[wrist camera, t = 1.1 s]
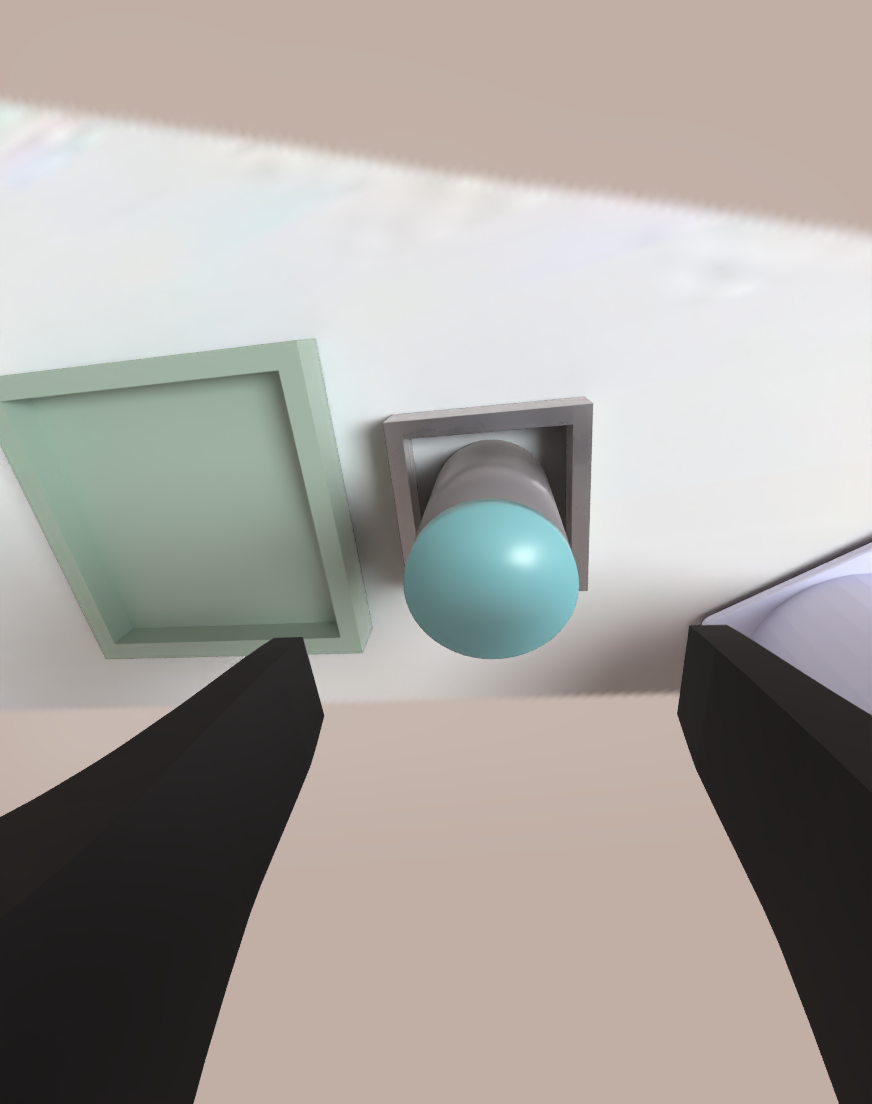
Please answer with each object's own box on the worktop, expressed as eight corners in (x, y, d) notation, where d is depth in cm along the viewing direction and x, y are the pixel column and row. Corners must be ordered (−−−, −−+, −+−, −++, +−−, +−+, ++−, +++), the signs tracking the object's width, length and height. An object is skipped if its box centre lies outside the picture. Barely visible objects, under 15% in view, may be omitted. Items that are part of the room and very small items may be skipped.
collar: (584, 396, 16) (592, 403, 15) (580, 571, 19) (587, 590, 18) (391, 415, 17) (382, 422, 16) (414, 579, 20) (409, 597, 19)
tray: (315, 338, 17) (296, 340, 15) (372, 628, 22) (362, 653, 20) (14, 374, 18) (-32, 380, 17) (132, 635, 23) (105, 659, 22)
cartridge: (571, 511, 18) (611, 612, 12) (475, 567, 20) (467, 682, 14) (508, 415, 17) (516, 471, 11) (411, 482, 19) (368, 566, 12)
